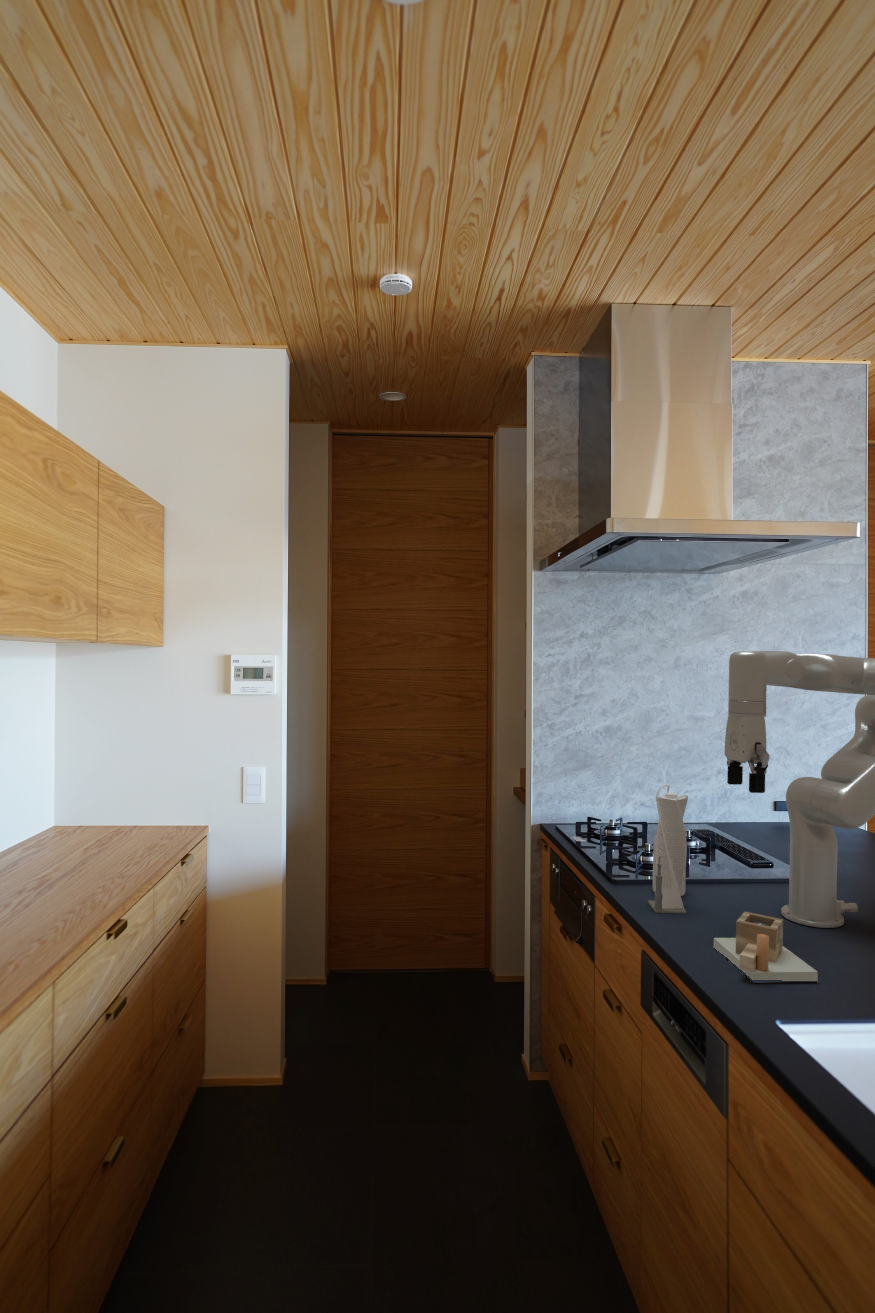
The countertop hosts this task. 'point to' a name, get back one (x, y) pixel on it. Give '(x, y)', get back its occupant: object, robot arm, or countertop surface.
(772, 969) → the board
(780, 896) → the countertop surface
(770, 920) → the open wooden box
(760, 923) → the post
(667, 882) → the skyscraper
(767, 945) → the dowel
